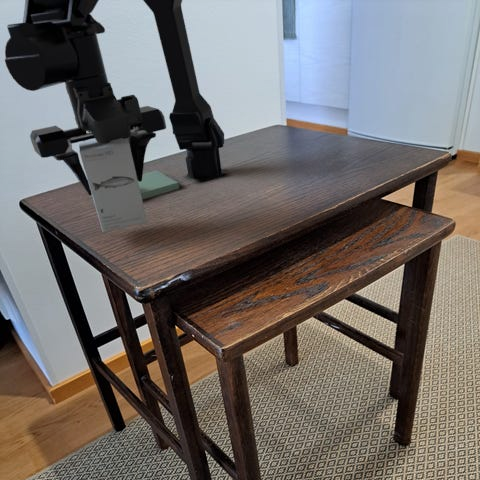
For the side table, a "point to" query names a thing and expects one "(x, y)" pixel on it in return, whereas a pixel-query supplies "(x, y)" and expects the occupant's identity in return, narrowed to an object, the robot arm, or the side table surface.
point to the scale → (156, 184)
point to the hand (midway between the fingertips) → (115, 187)
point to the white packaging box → (113, 183)
